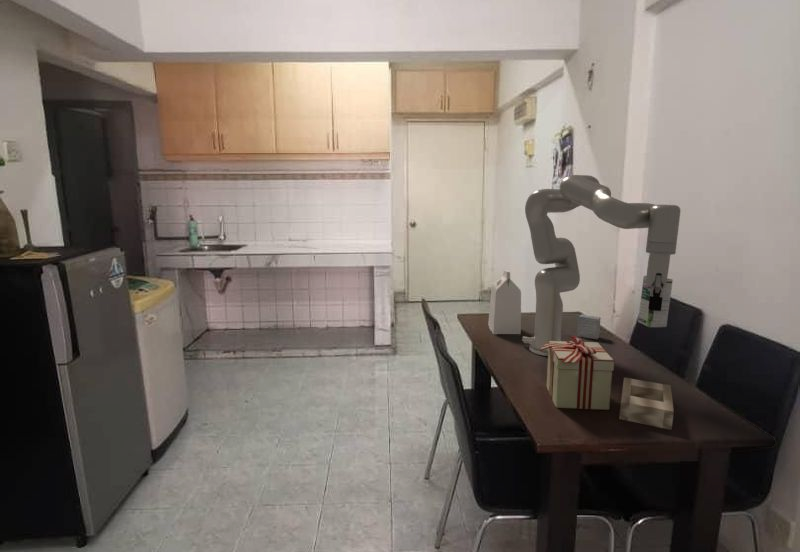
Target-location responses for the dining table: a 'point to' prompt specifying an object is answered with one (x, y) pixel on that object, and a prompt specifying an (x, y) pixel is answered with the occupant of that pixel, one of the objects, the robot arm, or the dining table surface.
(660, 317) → the syrup box
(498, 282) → the milk
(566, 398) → the gift box
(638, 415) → the socket block
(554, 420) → the dining table surface
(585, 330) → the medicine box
